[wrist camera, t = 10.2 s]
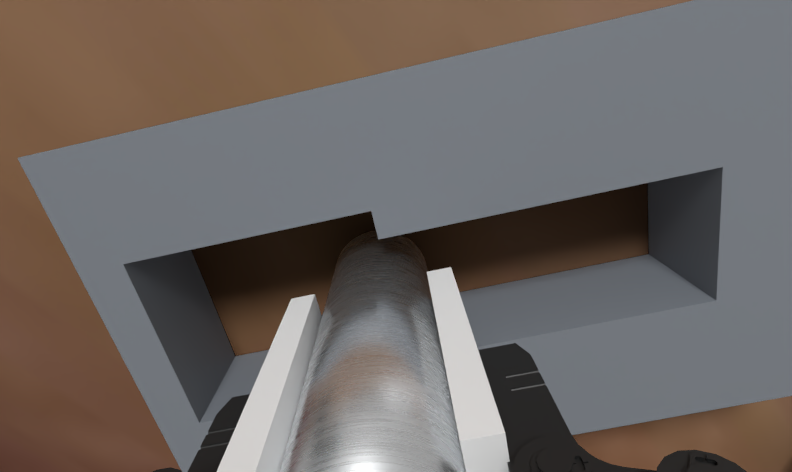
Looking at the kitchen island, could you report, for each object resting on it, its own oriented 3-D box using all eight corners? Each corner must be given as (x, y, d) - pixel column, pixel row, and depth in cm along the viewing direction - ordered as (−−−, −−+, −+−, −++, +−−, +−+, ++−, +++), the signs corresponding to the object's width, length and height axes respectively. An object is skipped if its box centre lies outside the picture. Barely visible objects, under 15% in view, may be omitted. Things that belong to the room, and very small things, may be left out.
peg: (325, 240, 17) (152, 696, 4) (417, 221, 16) (504, 645, 4) (348, 320, 18) (262, 851, 6) (434, 303, 18) (538, 815, 5)
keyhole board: (231, 426, 21) (198, 502, 17) (103, 138, 16) (17, 157, 12) (739, 329, 20) (822, 390, 16) (763, -16, 15) (891, -46, 11)
